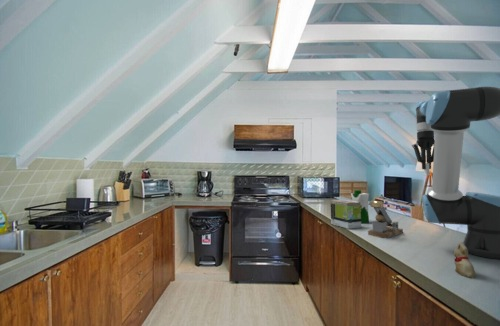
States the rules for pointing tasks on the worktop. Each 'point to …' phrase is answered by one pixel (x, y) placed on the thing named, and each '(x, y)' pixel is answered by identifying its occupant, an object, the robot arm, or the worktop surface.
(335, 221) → the tea box
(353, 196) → the milk carton
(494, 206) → the robot arm
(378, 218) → the walnut
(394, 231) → the bench
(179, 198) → the worktop surface
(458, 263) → the chocolate bunny
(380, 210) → the lever
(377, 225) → the grey block
